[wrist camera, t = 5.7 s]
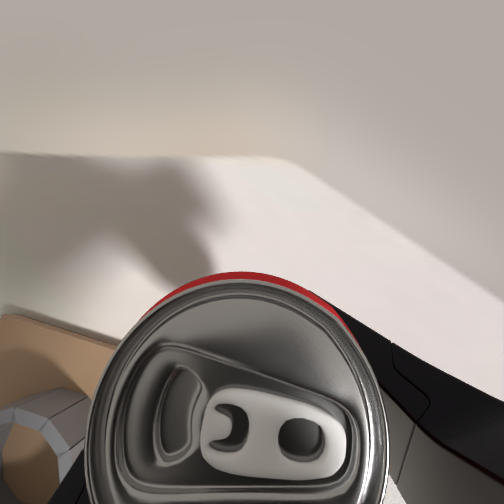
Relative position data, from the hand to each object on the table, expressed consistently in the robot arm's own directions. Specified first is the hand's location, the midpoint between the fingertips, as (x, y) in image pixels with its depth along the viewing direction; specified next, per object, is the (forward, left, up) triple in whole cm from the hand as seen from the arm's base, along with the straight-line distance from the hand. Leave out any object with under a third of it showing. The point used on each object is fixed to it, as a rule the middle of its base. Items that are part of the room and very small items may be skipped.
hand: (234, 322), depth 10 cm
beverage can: (-1, +1, -7) cm, 7 cm away
